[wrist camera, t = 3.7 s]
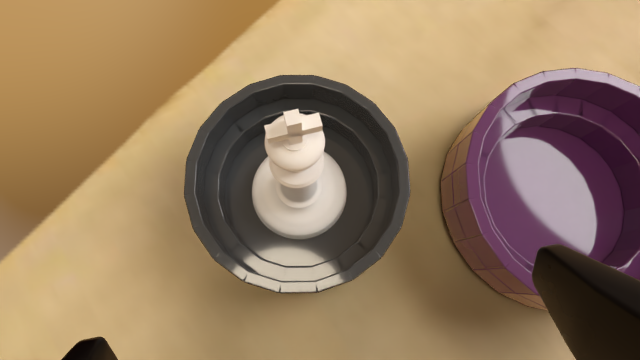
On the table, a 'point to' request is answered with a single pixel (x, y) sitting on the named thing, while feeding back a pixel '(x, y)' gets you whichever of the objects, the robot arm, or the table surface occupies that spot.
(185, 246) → the table surface
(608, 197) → the plum bowl
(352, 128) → the charcoal bowl
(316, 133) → the chess piece
